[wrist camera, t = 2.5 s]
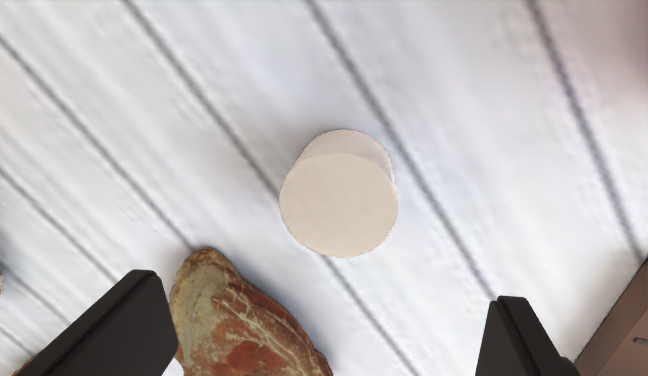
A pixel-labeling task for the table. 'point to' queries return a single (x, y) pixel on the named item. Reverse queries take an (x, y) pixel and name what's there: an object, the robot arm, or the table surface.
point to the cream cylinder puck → (340, 194)
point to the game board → (621, 336)
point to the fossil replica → (0, 281)
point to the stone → (235, 325)
